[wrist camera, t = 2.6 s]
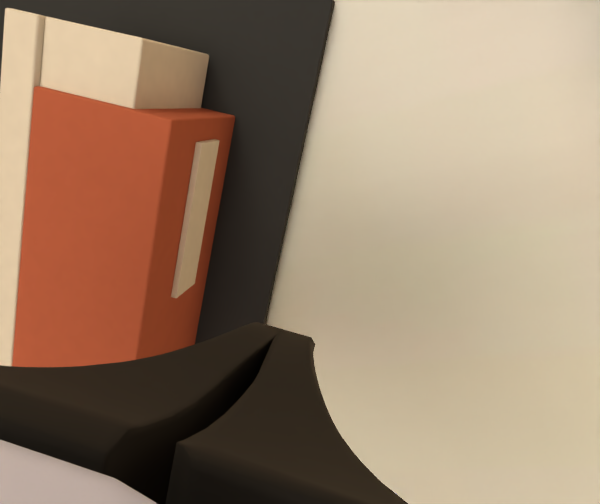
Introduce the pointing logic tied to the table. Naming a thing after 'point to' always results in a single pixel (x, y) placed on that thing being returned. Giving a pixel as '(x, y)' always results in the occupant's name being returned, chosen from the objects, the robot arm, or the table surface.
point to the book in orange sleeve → (103, 193)
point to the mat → (247, 127)
